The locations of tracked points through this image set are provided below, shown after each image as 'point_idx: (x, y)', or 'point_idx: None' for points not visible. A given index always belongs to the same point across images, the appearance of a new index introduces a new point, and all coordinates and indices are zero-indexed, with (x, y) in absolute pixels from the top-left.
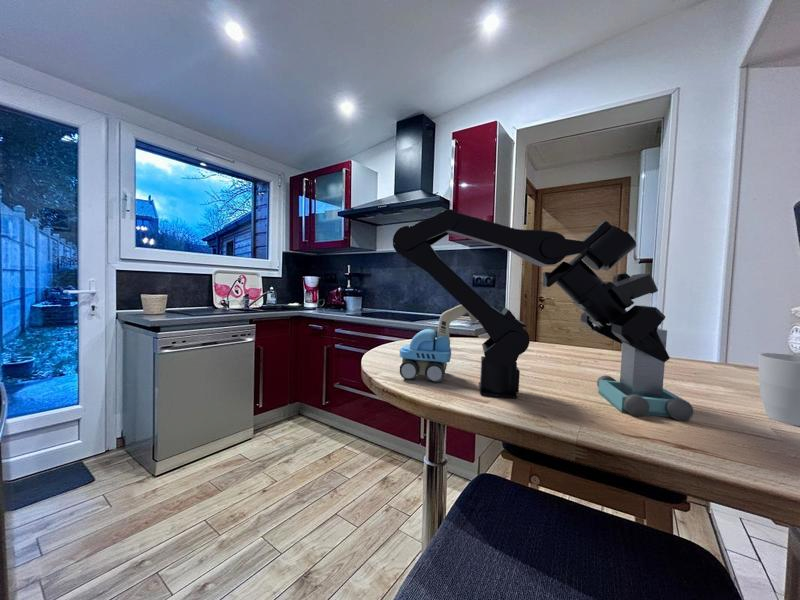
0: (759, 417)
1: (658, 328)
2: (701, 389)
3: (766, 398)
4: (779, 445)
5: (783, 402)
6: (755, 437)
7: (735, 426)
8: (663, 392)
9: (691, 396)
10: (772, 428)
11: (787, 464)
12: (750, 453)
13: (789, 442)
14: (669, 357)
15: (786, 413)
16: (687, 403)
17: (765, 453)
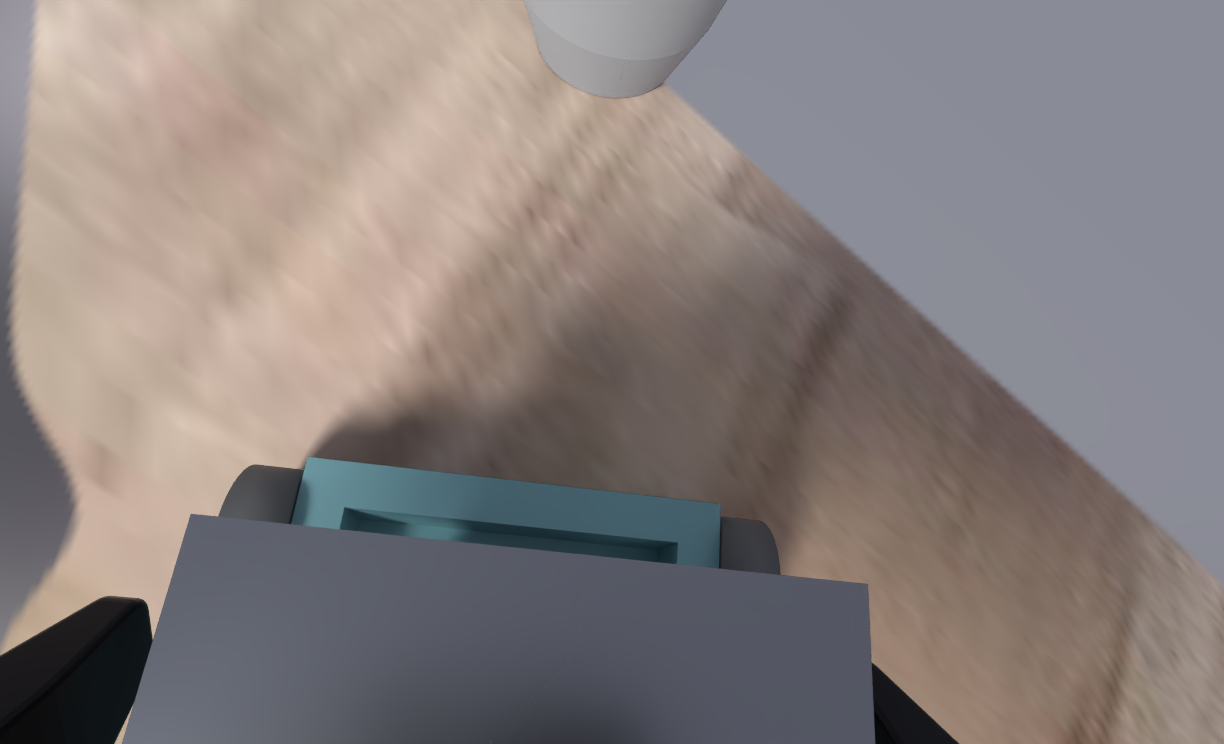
0: (592, 133)
1: (534, 558)
2: (143, 36)
3: (609, 40)
4: (899, 333)
5: (682, 34)
6: (844, 361)
7: (736, 343)
8: (506, 524)
9: (290, 205)
10: (720, 198)
11: (1066, 458)
12: (1021, 526)
13: (856, 266)
14: (876, 667)
15: (669, 64)
16: (774, 552)
17: (998, 460)
